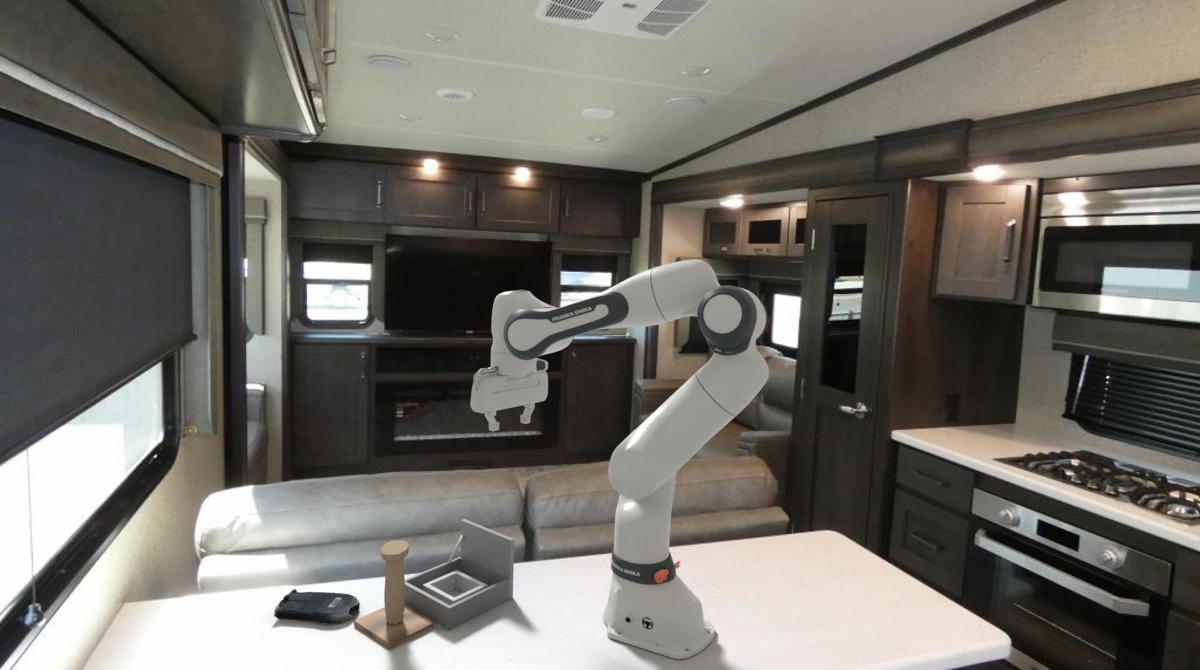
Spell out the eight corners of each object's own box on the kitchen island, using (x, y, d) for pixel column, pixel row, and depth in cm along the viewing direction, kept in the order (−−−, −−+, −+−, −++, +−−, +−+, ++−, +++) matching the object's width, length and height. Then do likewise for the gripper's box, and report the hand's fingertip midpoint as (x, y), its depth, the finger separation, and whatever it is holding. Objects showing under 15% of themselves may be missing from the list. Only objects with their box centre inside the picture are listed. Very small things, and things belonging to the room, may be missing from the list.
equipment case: (512, 597, 141) (514, 539, 139) (449, 630, 127) (449, 566, 126) (463, 573, 150) (464, 518, 149) (399, 602, 137) (399, 542, 136)
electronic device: (272, 633, 128) (348, 626, 127) (270, 604, 128) (345, 597, 127) (296, 613, 137) (367, 607, 136) (294, 587, 137) (365, 580, 137)
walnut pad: (435, 626, 128) (435, 622, 128) (390, 649, 121) (390, 644, 120) (398, 605, 136) (398, 600, 136) (354, 625, 128) (354, 620, 128)
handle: (377, 630, 125) (377, 554, 123) (386, 612, 131) (386, 540, 130) (403, 630, 125) (403, 554, 123) (411, 612, 131) (411, 540, 130)
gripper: (484, 371, 133) (483, 438, 135) (553, 361, 149) (551, 421, 151) (464, 367, 137) (463, 432, 139) (533, 358, 153) (531, 416, 155)
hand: (510, 426), depth 145 cm, fingers open, 8 cm apart
